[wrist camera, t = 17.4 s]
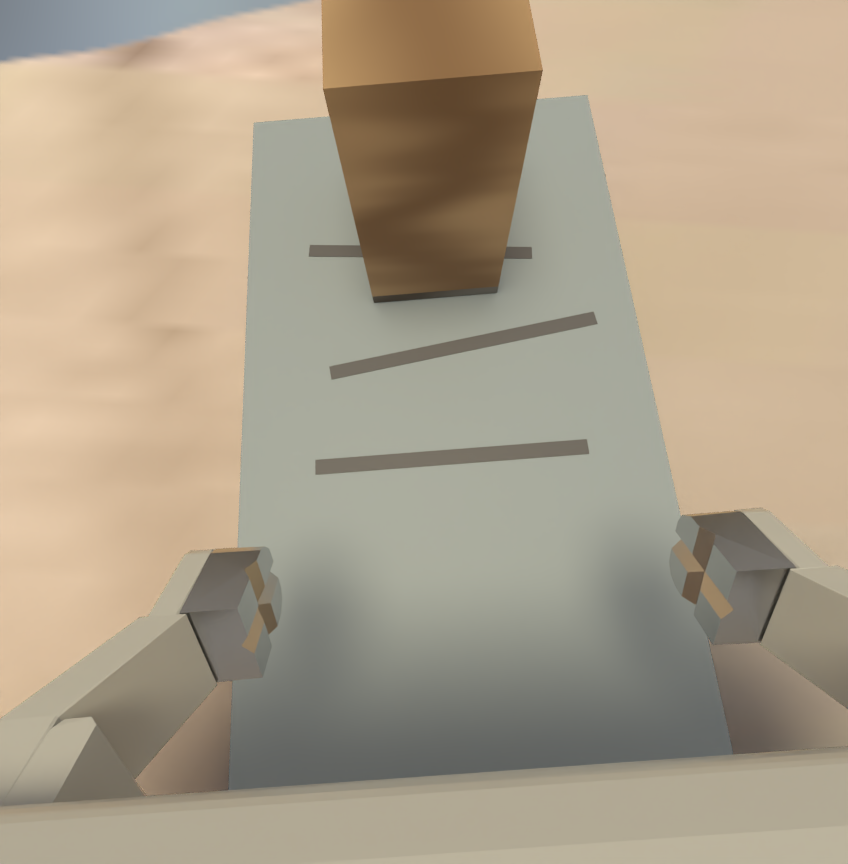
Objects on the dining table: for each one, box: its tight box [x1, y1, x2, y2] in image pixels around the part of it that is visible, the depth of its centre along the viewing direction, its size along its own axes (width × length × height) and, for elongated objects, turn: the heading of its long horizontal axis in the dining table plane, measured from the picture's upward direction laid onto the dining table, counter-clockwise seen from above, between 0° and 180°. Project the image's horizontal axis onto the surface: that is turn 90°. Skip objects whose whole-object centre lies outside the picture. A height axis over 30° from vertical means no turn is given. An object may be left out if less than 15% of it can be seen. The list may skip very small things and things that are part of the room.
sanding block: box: [322, 0, 543, 303], centre depth 14 cm, size 4×6×8 cm
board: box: [228, 95, 733, 790], centre depth 17 cm, size 14×24×2 cm, turn 4°
